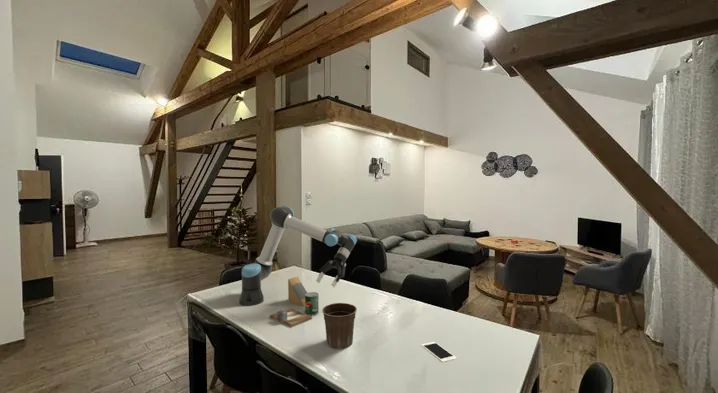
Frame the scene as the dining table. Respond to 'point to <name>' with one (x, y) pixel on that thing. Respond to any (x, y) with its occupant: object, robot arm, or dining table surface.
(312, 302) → the canned tomato
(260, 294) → the robot arm
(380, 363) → the dining table surface
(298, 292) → the sandwich container
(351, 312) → the plant pot
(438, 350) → the cell phone
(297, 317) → the walnut board
